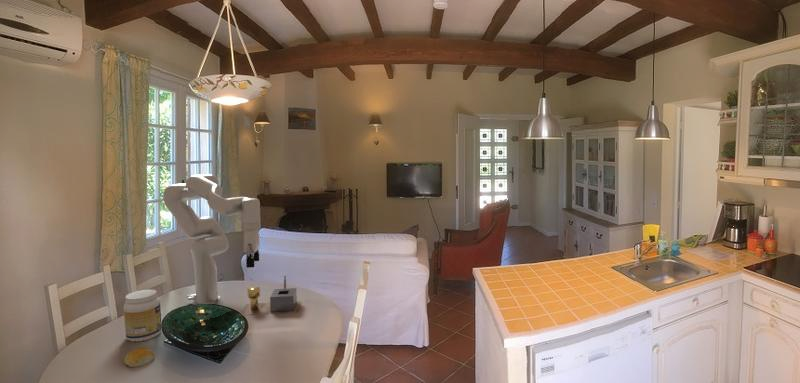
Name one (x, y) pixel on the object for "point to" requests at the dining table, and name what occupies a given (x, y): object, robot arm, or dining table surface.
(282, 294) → the hitch block
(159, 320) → the supplement tub
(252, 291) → the brass pin
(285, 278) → the tow hook
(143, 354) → the bread roll
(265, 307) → the mount plate
